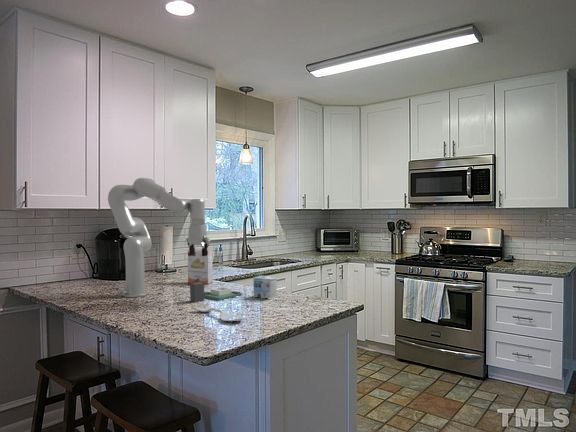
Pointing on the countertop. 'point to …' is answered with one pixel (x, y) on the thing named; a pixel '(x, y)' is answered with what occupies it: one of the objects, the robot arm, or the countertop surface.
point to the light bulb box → (265, 286)
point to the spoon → (222, 316)
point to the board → (221, 293)
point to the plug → (197, 292)
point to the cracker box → (200, 267)
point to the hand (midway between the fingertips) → (198, 255)
